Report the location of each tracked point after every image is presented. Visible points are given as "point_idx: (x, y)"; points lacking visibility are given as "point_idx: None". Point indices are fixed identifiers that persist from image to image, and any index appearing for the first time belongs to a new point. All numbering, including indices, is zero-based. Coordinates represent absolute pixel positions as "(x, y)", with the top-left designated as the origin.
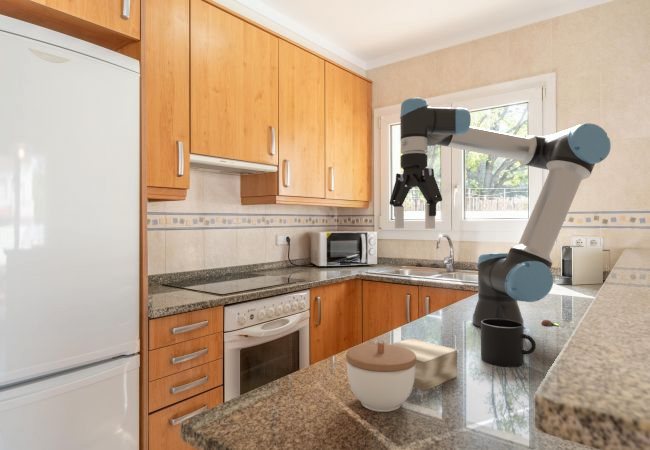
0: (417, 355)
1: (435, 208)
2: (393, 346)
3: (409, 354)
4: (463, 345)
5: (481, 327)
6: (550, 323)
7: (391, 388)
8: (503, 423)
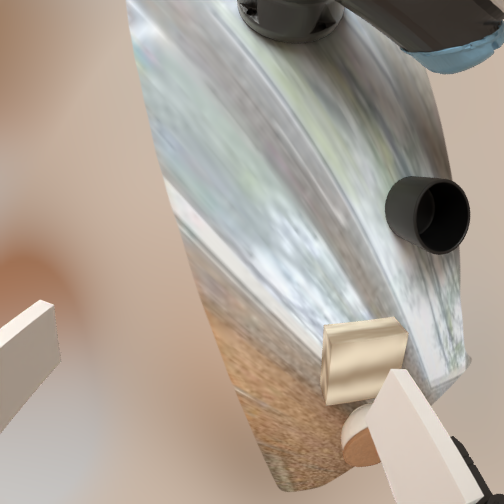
0: (379, 387)
1: (476, 478)
2: None
3: None
4: (331, 178)
5: (415, 241)
6: None
7: None
8: (451, 363)
